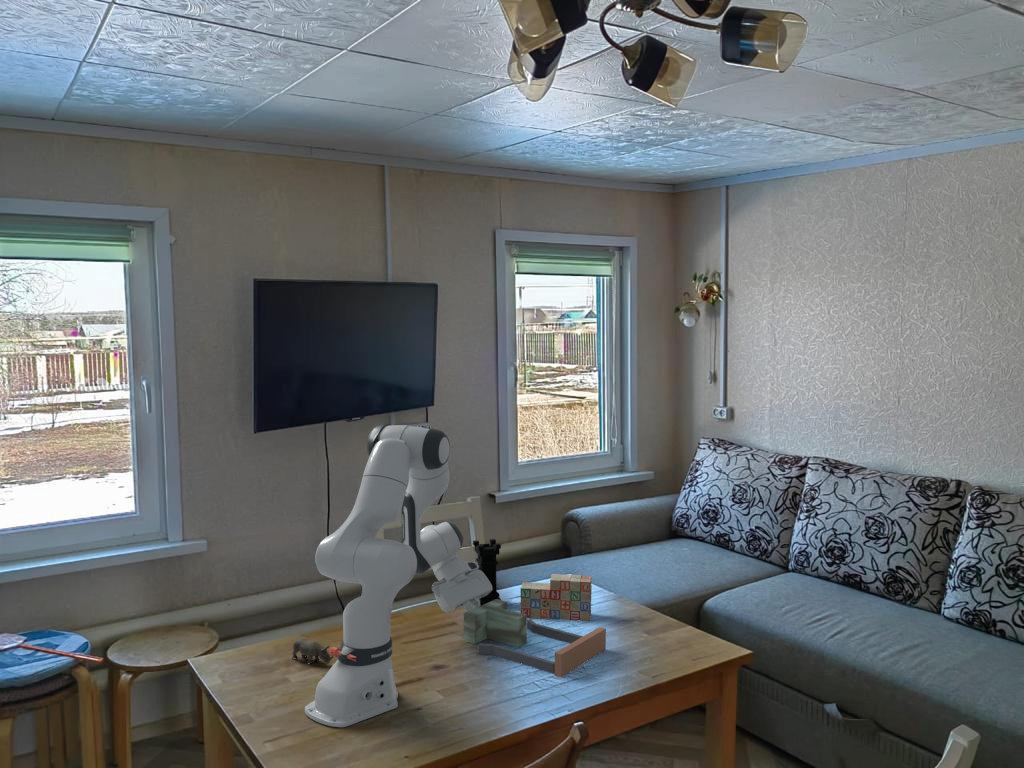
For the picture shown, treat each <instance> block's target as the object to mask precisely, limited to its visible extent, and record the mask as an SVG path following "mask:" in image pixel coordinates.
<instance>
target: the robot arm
mask: <svg viewBox="0 0 1024 768" xmlns="http://www.w3.org/2000/svg"><path fill="white" fill-rule="evenodd" d="M450 445H451V443H450V439H449V437H448V436H447V434H446V433H445V432H444V431H442V430H440V429H436V428H426V427H420V426H413V425H411V424H409V425H407V424H392V425H390V424H381V425H376V426H375V427H373V429H372V430H371V431H370V432H369V434H368V436H367V440H366V451H367V454H368V456H369V457H368V460H367V462H366V465H365V468H364V471H363V474H362V477H361V482H360V486H359V490H358V493H357V497H356V499H355V503H354V506H353V507H352V510H351V512H350V513H349V515H348V517H347V518H346V519H345V520H344V522H343V523H342V524H341V525H340V526H339V527H338V528H337V529H336V530H335V531H334V532H333V533H331V534H330V535H328V536H325V538H324V539H322V541H320V543H319V545H318V546H317V548H316V551H315V556H314V562H315V565H316V569H317V571H318V572H319V573H320V574H321V575H322V576H324V577H327V578H329V579H332V580H334V581H338V582H343V583H344V582H345V583H350V584H360V585H361V588H362V589H361V590H362V591H361V594H360V596H358V597H356V598H354V599H353V600H351V601H350V602H348V603H347V605H346V606H345V608H344V610H343V612H342V624H343V625H342V626H343V627H342V629H343V630H342V633H343V634H342V636H343V640H342V641H341V644H340V647H339V648H338V647H335V646H331V647H329V650H328V654H330V655H329V656H330V657H332V656H333V657H334V658H337V660H336V661H335V662H334V664H333V665H332V666H331V667H330V668H329V670H328V671H327V672H325V675H323V677H322V678H321V679H320V681H319V682H318V683H317V685H316V689H315V693H314V695H315V696H314V700H313V701H311V702H310V703H307V705H305V707H304V714H305V715H306V716H307V717H308V718H310V719H311V720H313V721H314V722H317V723H320V724H322V725H325V726H329V727H334V728H345V727H349V726H351V725H354V724H357V723H359V722H361V721H362V722H363V721H364V720H367V719H370V718H372V717H376V716H377V715H381V714H384V713H385V712H389V711H391V710H394V709H397V708H398V706H399V704H398V697H399V693H398V689H397V686H396V682H395V678H394V671H393V663H392V655H393V638H392V636H391V615H392V607H393V603H394V600H395V598H396V597H397V595H398V593H399V592H400V591H401V590H402V589H403V588H404V587H406V586H407V585H408V584H409V583H410V582H411V581H412V580H413V578H414V576H415V575H416V574H419V575H422V574H424V573H426V572H427V571H429V570H430V569H432V570H433V574H434V576H435V578H436V579H437V581H434V582H433V583H432V585H431V591H432V593H433V594H434V597H435V599H436V600H435V601H436V603H437V604H438V605H439V608H440V609H441V611H442V612H444V613H446V614H447V613H450V612H452V611H454V610H456V609H459V608H461V607H463V609H464V610H466V612H468V611H470V610H473V609H475V608H477V607H479V606H480V600H479V599H480V598H482V597H484V596H487V595H488V594H489V593H490V592H491V591H492V585H491V583H490V581H489V580H488V578H487V577H486V576H485V574H484V573H483V572H482V571H481V570H478V568H479V565H478V562H477V561H467V560H466V561H465V560H462V559H461V558H460V557H459V556H458V555H457V552H458V551H460V550H461V549H462V547H463V543H464V535H463V534H462V532H461V530H460V529H459V527H458V526H457V525H456V524H454V523H453V522H451V521H443V522H441V523H438V524H437V525H436V524H428V525H427V526H424V527H423V528H422V529H421V519H422V517H423V515H424V513H426V511H427V510H428V509H429V508H430V507H431V506H432V505H433V504H434V503H435V502H436V501H437V500H438V499H440V498H441V497H442V496H443V495H444V494H445V492H446V491H447V489H448V486H449V484H450V480H451V479H450V477H451V476H450V475H451V474H450V467H449V463H448V462H449V461H448V460H449V456H450V451H451V450H450V449H451V446H450ZM400 515H401V542H400V541H398V540H393V539H387V538H378V537H377V535H378V534H379V532H380V531H381V530H382V529H383V528H386V527H387V526H389V525H391V524H393V523H394V522H396V521H397V520H398V519H399V517H400Z"/></svg>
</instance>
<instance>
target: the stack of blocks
mask: <svg viewBox="0 0 1024 768" xmlns="http://www.w3.org/2000/svg"><path fill="white" fill-rule="evenodd" d="M592 587H593V586H592V575H581V574H557V573H552V574H551V575H550V580H549V582H547V583H546V582H545V583H544V582H529V581H523V582H522V583H521V586H520V613H521V614H525V615H527V618H529V619H546V620H564V621H565V620H567V621H577V620H580V621H579V622H581V621H582V622H591V617H590V616H592Z"/></svg>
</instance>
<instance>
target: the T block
mask: <svg viewBox="0 0 1024 768" xmlns="http://www.w3.org/2000/svg"><path fill="white" fill-rule="evenodd" d="M474 608H475V607H474ZM527 620H528V617H527V615H525V614H521V612H517V611H513V610H510V609H508V600H507V601H506V600H502V599H501V600H499V599H495V600H493V601H491V602H488V603H486V604H484V605H482V606H479V607H477V608H475V609H473V610H470V611H465V612H464V613H463V642H467V643H469V642H470V644H472V645H476V644H479V643H481V642H483V641H485V640H486V639H488V640H491V641H496V642H498V643H501V644H506V645H509V646H513V647H516V648H520V647H521V646H524V645H525V644H528V635H527V634H528V629H527Z"/></svg>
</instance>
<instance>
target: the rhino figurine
mask: <svg viewBox="0 0 1024 768" xmlns="http://www.w3.org/2000/svg"><path fill="white" fill-rule="evenodd" d="M330 646H331V645H327V646H324V645H322V644H321V643H320V642H319V641H316V640H310V639H307V638H306V637H301V636H298V637H297V638H296V639H295V641H294V643H293V646H292V647H293V648H292V649H293V650H292V657H291V658H292V660H294V659H293V658H297V659H298V655H297V653H300V657H301V656H302V657H301V658H303V657H305V656H307V658H308V660H307V661H306V662H308V663H311V662H312V663H313V661H312V659H313V658H314V662H315V661H319V660H321V661H323V662H324V663H326V664H329V663H331V661H332V660H333V659H334V656H331V655H330V654H329V652H328V649H330Z"/></svg>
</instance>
